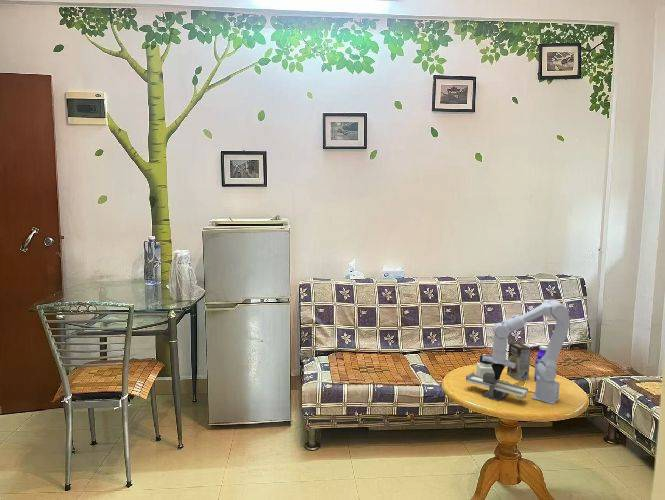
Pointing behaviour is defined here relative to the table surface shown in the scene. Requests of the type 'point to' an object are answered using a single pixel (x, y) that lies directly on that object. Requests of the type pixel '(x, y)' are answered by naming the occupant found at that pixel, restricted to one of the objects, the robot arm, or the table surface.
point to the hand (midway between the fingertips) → (497, 379)
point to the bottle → (540, 354)
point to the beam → (499, 386)
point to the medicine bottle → (484, 366)
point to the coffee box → (519, 361)
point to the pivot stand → (495, 394)
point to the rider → (489, 378)
